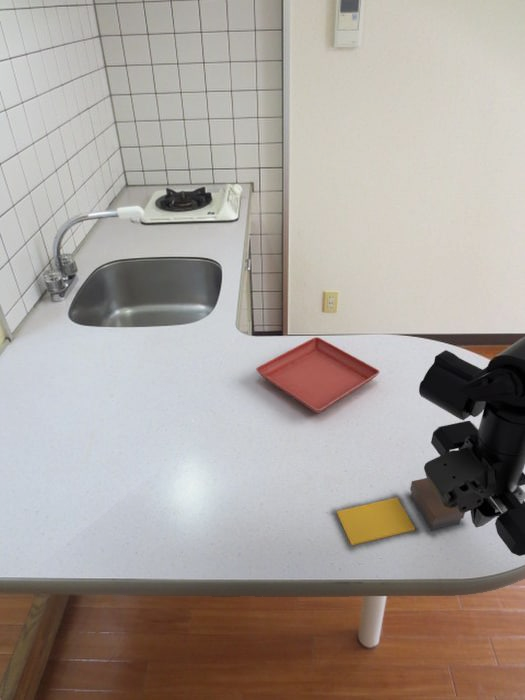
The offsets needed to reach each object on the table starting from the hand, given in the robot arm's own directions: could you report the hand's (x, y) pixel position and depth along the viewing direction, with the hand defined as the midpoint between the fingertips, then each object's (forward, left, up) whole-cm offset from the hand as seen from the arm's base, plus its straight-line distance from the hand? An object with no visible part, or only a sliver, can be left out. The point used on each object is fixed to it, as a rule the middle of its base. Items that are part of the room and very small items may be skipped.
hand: (477, 524), depth 69 cm
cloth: (+13, +2, -8) cm, 15 cm away
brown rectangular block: (+7, -5, -8) cm, 12 cm away
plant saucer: (+39, -21, -8) cm, 45 cm away
